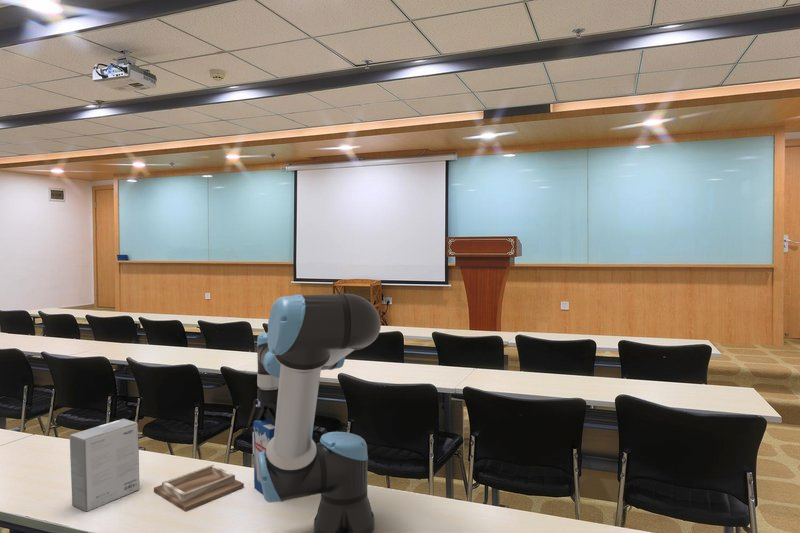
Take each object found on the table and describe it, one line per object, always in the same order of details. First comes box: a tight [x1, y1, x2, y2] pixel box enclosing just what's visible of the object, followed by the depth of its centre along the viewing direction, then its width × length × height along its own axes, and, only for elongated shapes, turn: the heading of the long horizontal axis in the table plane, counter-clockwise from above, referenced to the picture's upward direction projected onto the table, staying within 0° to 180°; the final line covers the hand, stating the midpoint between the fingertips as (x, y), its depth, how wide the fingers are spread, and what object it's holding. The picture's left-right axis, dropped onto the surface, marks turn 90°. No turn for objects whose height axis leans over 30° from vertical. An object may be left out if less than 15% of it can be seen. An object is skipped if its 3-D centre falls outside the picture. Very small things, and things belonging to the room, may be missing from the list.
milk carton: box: [253, 418, 275, 496], centre depth 147 cm, size 10×6×20 cm, turn 41°
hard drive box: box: [69, 418, 141, 513], centre depth 143 cm, size 16×8×20 cm, turn 149°
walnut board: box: [153, 464, 245, 512], centre depth 148 cm, size 18×18×3 cm
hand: (271, 458), depth 148 cm, fingers open, 13 cm apart
